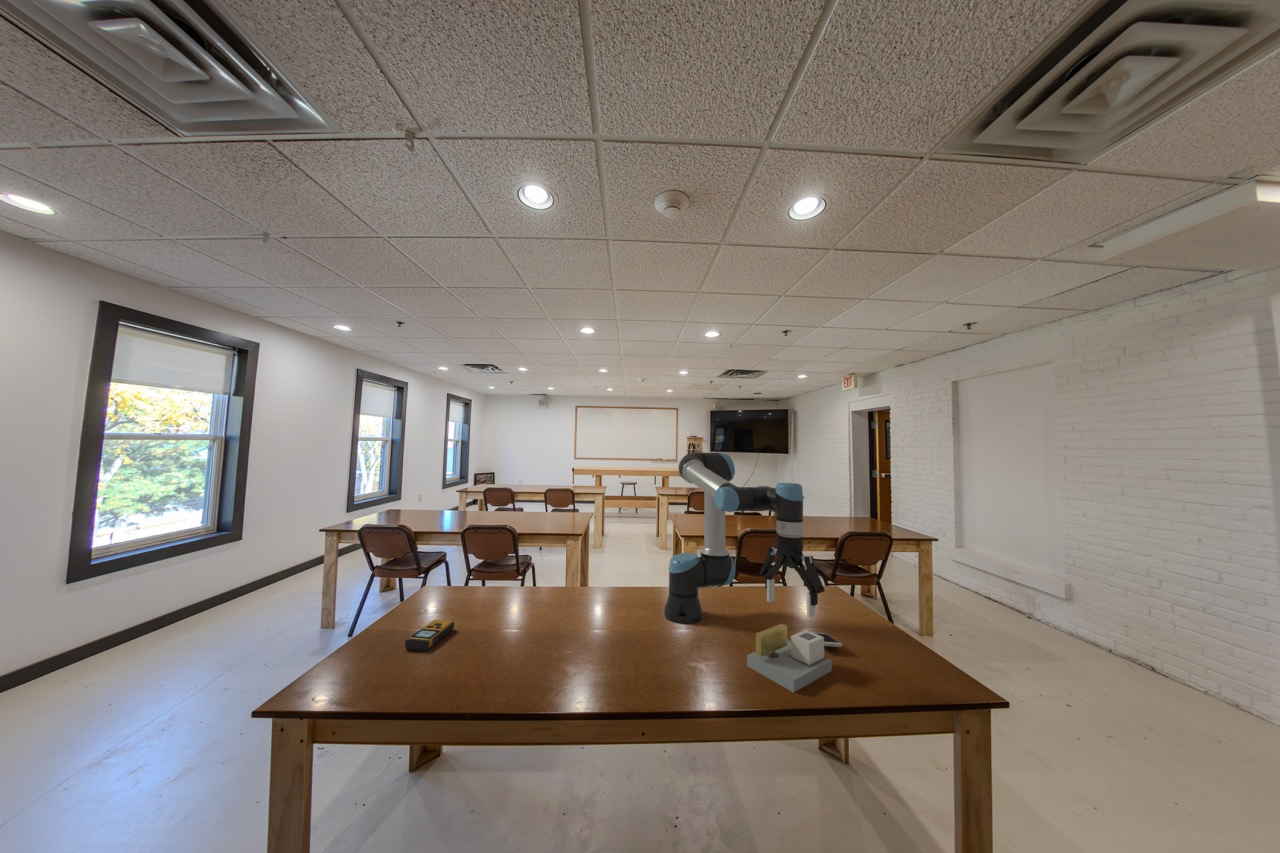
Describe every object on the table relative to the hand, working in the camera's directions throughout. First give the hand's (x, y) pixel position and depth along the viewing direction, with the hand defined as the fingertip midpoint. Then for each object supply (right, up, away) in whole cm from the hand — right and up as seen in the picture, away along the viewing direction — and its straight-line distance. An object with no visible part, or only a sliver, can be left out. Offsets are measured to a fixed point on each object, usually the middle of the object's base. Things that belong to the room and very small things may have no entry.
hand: (790, 608), depth 117 cm
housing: (+1, -20, +4) cm, 21 cm away
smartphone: (+18, -20, +12) cm, 30 cm away
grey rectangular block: (+7, -17, +4) cm, 19 cm away
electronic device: (-115, -21, +24) cm, 119 cm away
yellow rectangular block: (-4, -16, +5) cm, 18 cm away
